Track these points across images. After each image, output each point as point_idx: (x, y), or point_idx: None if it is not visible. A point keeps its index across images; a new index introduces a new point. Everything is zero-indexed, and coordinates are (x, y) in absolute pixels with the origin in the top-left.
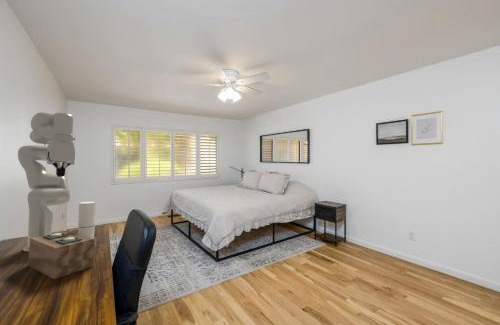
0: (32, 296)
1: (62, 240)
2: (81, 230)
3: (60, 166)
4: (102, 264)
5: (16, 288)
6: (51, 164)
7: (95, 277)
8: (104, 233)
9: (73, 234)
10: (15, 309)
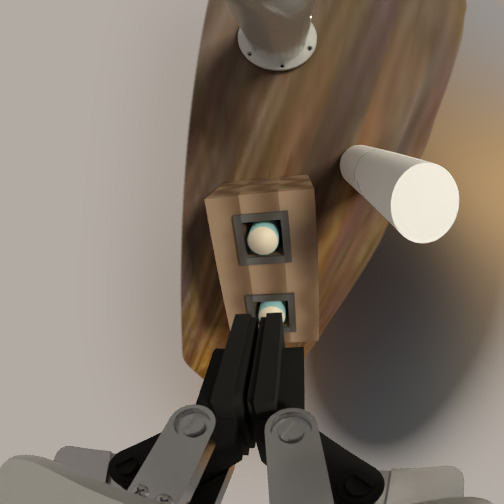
0: (208, 334)
1: (261, 299)
2: (358, 190)
3: (227, 474)
4: (330, 304)
5: (194, 291)
6: (113, 458)
7: (291, 345)
8: (455, 52)
9: (308, 255)
10: (191, 349)
